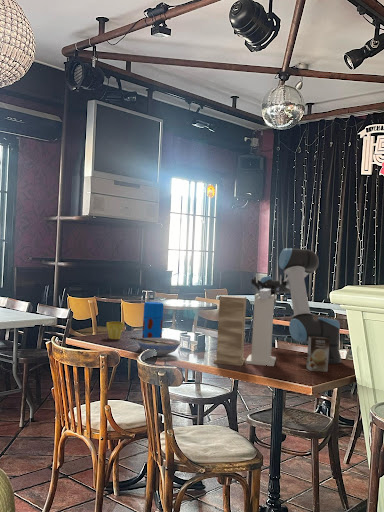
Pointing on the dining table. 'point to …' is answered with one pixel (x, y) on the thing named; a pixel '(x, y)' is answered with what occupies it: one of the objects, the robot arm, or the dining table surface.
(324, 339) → the coffee box
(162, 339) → the ramen bowl
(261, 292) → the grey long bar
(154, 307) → the blue carton
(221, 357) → the oak stand
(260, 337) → the post
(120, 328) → the plant pot
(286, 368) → the dining table surface
